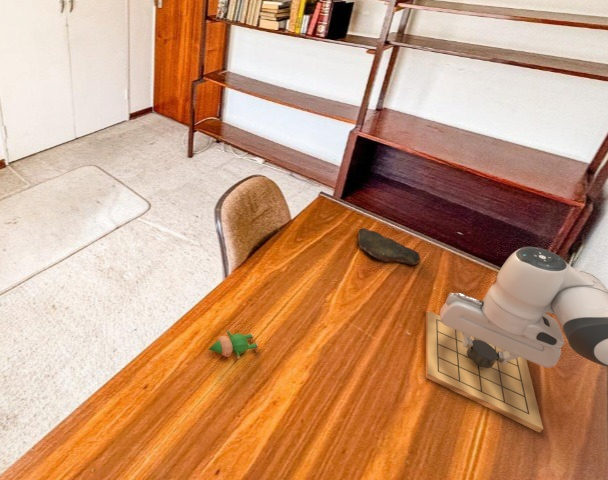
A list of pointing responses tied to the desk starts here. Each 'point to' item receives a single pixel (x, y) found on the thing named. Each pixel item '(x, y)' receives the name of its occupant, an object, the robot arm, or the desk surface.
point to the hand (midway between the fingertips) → (482, 353)
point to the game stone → (482, 354)
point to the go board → (480, 375)
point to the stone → (386, 248)
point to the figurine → (233, 344)
